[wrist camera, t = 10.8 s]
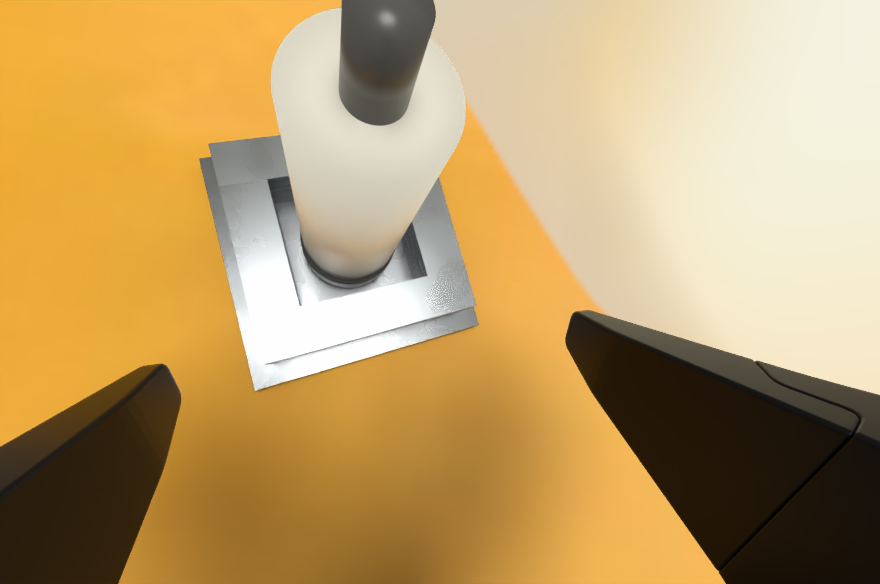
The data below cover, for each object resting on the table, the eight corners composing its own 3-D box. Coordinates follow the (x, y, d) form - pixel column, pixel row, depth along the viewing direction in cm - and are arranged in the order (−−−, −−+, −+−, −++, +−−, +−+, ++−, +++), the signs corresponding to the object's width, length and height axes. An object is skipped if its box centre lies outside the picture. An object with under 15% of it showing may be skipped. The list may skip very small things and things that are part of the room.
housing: (474, 325, 23) (500, 319, 20) (257, 389, 20) (242, 395, 16) (419, 136, 24) (434, 99, 21) (202, 164, 21) (177, 125, 17)
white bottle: (386, 294, 22) (508, 153, 7) (297, 284, 20) (218, 89, 6) (394, 214, 22) (517, -61, 8) (308, 200, 21) (266, -154, 7)
